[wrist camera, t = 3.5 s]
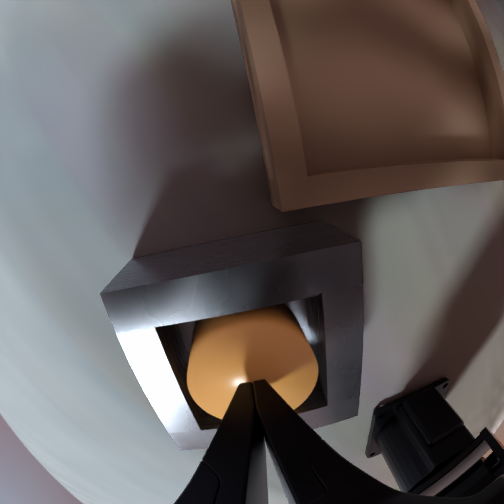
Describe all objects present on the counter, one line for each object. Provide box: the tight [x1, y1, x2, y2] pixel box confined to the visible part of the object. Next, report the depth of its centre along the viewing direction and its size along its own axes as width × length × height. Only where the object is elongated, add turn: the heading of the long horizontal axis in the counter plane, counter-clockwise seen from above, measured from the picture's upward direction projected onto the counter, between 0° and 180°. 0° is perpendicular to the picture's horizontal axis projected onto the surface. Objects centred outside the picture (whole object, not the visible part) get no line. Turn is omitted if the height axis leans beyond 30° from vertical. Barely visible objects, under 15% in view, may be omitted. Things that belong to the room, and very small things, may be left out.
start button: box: [187, 303, 318, 419], centre depth 10 cm, size 4×4×2 cm
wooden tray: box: [231, 0, 504, 212], centre depth 8 cm, size 14×14×2 cm
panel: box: [100, 220, 363, 450], centre depth 11 cm, size 8×8×4 cm
